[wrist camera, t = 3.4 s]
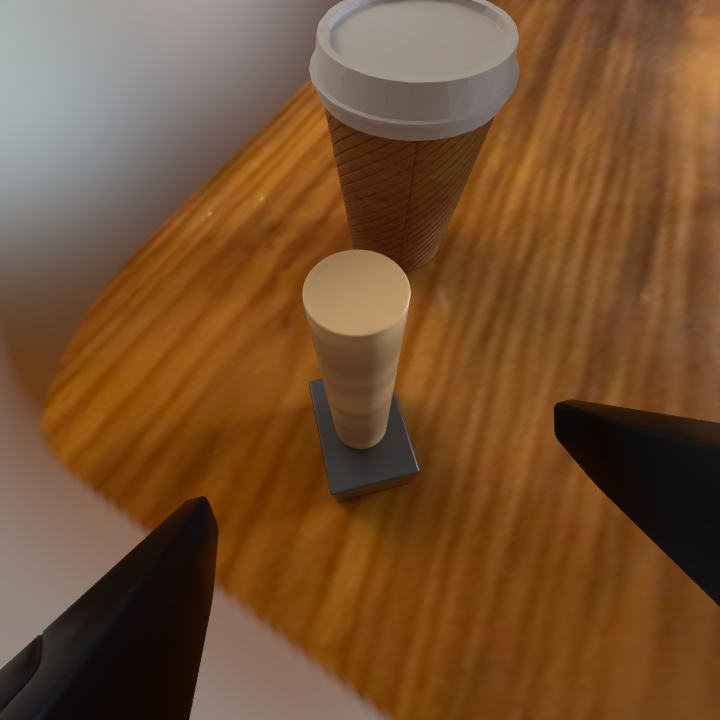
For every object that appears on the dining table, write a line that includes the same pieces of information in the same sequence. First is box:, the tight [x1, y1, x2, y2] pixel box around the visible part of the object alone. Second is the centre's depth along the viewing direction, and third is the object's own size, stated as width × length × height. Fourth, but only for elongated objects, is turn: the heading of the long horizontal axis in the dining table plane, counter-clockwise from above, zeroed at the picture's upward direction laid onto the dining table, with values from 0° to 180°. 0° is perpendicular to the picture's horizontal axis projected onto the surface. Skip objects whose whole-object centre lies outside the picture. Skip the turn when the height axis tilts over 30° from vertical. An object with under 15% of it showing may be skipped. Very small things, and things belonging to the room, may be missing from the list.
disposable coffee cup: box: [309, 0, 519, 272], centre depth 21 cm, size 10×10×12 cm
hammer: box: [302, 250, 419, 502], centre depth 14 cm, size 6×4×13 cm
